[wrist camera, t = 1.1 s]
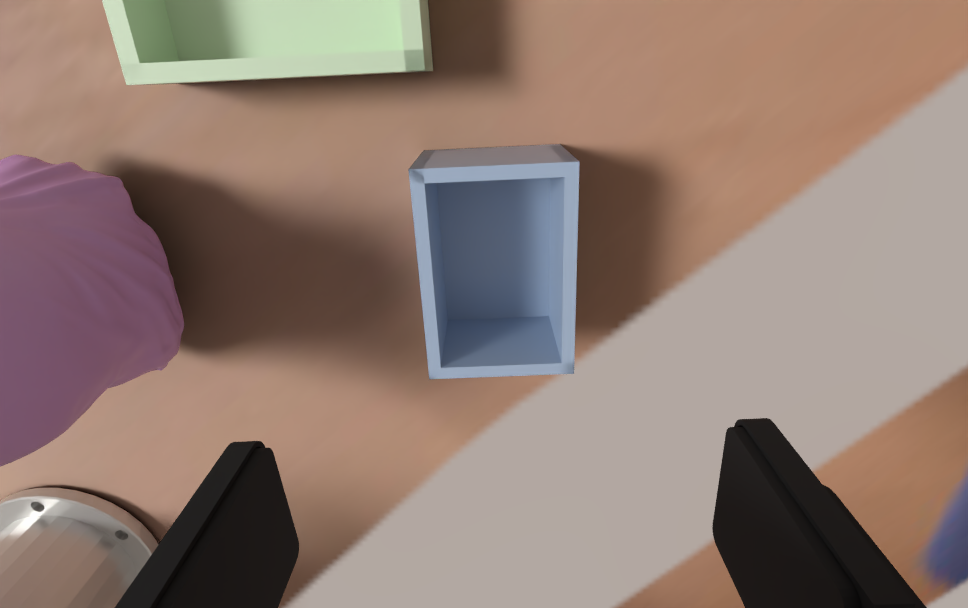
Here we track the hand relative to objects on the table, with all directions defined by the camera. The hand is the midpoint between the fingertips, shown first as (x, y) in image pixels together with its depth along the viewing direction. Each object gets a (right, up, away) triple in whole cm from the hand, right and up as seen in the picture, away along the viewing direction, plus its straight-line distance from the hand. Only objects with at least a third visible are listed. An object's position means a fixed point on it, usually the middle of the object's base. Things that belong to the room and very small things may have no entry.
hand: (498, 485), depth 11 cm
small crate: (0, +7, +18) cm, 20 cm away
